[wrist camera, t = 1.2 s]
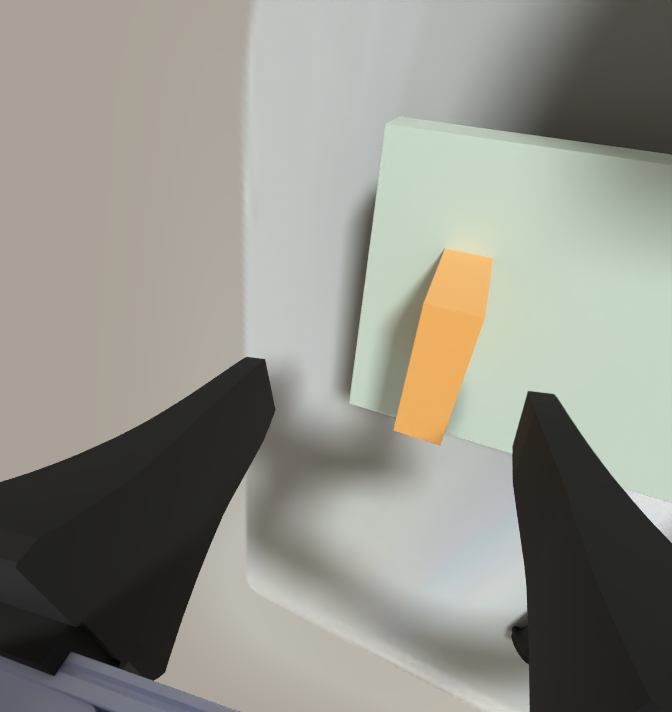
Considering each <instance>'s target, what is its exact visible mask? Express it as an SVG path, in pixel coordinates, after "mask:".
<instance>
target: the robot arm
mask: <svg viewBox="0 0 672 712" xmlns="http://www.w3.org/2000/svg"><path fill="white" fill-rule="evenodd" d="M274 412H275V406H274V401H273V396H272V391H271V386H270V381H269V376H268V371H267V367H266V362H265V359H259V358H251V357H246V358H244V359H242V360H241V361H239V362H238V363H236V364H234V365H233V366H232V367H230V368H229V369H227V370H226V371H224V372H223V373H221V374H220V375H219V376H217V377H215V378H214V379H213V380H211V381H210V382H208V383H207V384H205V385H204V386H202V387H201V388H199V389H198V390H196V391H195V392H193V393H192V394H190V395H189V396H187V397H186V398H184V399H183V400H181V401H179V402H178V403H176V404H175V405H173V406H171V407H170V408H168V409H166V410H165V411H164V412H162V413H160V414H158V415H157V416H155V417H153V418H152V419H150V420H148V421H146V422H144V423H143V424H141V425H139V426H137V427H135V428H133V429H131V430H129V431H127V432H125V433H124V434H122V435H120V436H118V437H116V438H114V439H111V440H109V441H107V442H105V443H102V444H100V445H98V446H96V447H94V448H92V449H89V450H87V451H85V452H82V453H80V454H78V455H75V456H73V457H71V458H68V459H65V460H63V461H60V462H58V463H55V464H53V465H50V466H47V467H44V468H42V469H39V470H36V471H33V472H30V473H28V474H24V475H22V476H19V477H15V478H12V479H9V480H6V481H3V482H0V712H239V711H236V710H234V709H231V708H228V707H225V706H222V705H220V704H217V703H214V702H211V701H208V700H206V699H203V698H200V697H197V696H194V695H191V694H188V693H186V692H183V691H180V690H177V689H175V688H172V687H169V686H166V685H163V684H160V683H158V682H155V681H154V680H155V679H157V678H159V677H160V676H161V675H163V673H165V671H166V668H167V664H168V661H169V658H170V655H171V652H172V648H173V645H174V643H175V640H176V636H177V633H178V630H179V627H180V624H181V621H182V618H183V615H184V613H185V610H186V607H187V604H188V601H189V599H190V596H191V593H192V590H193V588H194V585H195V582H196V580H197V577H198V575H199V572H200V570H201V567H202V565H203V562H204V559H205V557H206V554H207V552H208V549H209V547H210V544H211V542H212V539H213V537H214V535H215V533H216V530H217V528H218V526H219V523H220V521H221V519H222V516H223V514H224V512H225V510H226V508H227V506H228V504H229V502H230V501H231V499H232V497H233V495H234V493H235V492H236V489H237V488H238V486H239V484H240V483H241V481H242V479H243V477H244V475H245V474H246V472H247V470H248V468H249V466H250V465H251V463H252V461H253V459H254V457H255V455H256V454H257V452H258V450H259V448H260V446H261V444H262V442H263V440H264V438H265V436H266V433H267V431H268V428H269V426H270V423H271V420H272V418H273V415H274ZM512 461H513V487H514V495H515V502H516V509H517V517H518V524H519V531H520V538H521V545H522V552H523V559H524V566H525V576H526V587H527V611H528V641H529V687H530V712H672V543H671V542H670V541H669V540H668V539H667V538H666V537H665V536H664V535H663V534H662V533H661V531H660V530H659V529H658V528H657V527H656V526H655V525H654V524H653V523H652V522H651V521H650V520H649V519H648V518H647V516H646V515H645V514H644V513H643V512H642V511H641V510H640V509H639V507H638V506H637V505H636V504H635V503H634V502H633V501H632V499H631V498H630V497H629V496H628V495H627V493H626V492H625V491H624V490H623V488H622V487H621V486H620V485H619V484H618V482H617V481H616V480H615V479H614V477H613V476H612V475H611V474H610V472H609V471H608V470H607V468H606V467H605V466H604V464H603V463H602V462H601V460H600V459H599V458H598V456H597V455H596V454H595V452H594V451H593V450H592V448H591V447H590V445H589V444H588V443H587V441H586V440H585V438H584V437H583V436H582V434H581V433H580V431H579V430H578V428H577V427H576V425H575V424H574V422H573V421H572V419H571V418H570V416H569V415H568V413H567V412H566V410H565V408H564V407H563V405H562V404H561V402H560V401H559V399H558V398H557V396H556V395H555V394H550V393H542V392H534V391H528V392H527V396H526V399H525V403H524V407H523V410H522V414H521V417H520V421H519V424H518V428H517V432H516V435H515V439H514V442H513V446H512Z"/></svg>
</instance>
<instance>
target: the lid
mask: <svg viewBox="0 0 672 712" xmlns="http://www.w3.org/2000/svg"><path fill="white" fill-rule="evenodd" d="M528 391H534V392H542V393H550V394H555V395H556V396H557V398H558V399H559V401H560V402H561V404H562V405H563V407H564V408H565V410H566V412H567V413H568V415H569V416H570V418H571V419H572V421H573V422H574V424H575V425H576V427H577V428H578V430H579V431H580V433H581V434H582V436H583V437H584V438H585V440H586V441H587V443H588V444H589V445H590V447H591V448H592V450H593V451H594V452H595V454H596V455H597V456H598V458H599V459H600V460H601V462H602V463H603V464H604V466H605V467H606V468H607V470H608V471H609V472H610V474H611V475H612V476H613V477H614V479H615V480H616V481H617V482H618V484H619V485H620V486H621V487H622V488H624V489H628V490H631V491H634V492H637V493H641V494H644V495H647V496H650V497H654V498H657V499H660V500H663V501H666V502H670V503H672V154H665V153H658V152H650V151H643V150H636V149H629V148H622V147H615V146H607V145H600V144H593V143H586V142H579V141H571V140H564V139H557V138H550V137H543V136H536V135H528V134H521V133H514V132H507V131H500V130H493V129H485V128H478V127H471V126H464V125H457V124H449V123H442V122H435V121H428V120H421V119H414V118H406V117H397V118H395V119H394V120H392V121H390V122H388V123H386V125H385V133H384V140H383V148H382V156H381V163H380V171H379V178H378V186H377V194H376V201H375V209H374V217H373V224H372V232H371V240H370V247H369V255H368V263H367V270H366V278H365V285H364V293H363V301H362V308H361V316H360V324H359V331H358V339H357V347H356V354H355V362H354V370H353V377H352V385H351V392H350V400H349V404H353V405H356V406H359V407H362V408H366V409H369V410H372V411H375V412H378V413H382V414H385V415H388V416H391V417H395V418H396V422H395V426H394V430H393V431H397V432H400V433H403V434H406V435H409V436H412V437H416V438H419V439H422V440H425V441H428V442H431V443H434V444H438V445H441V442H442V439H443V436H444V433H446V434H450V435H453V436H456V437H459V438H463V439H466V440H469V441H472V442H476V443H479V444H482V445H485V446H488V447H492V448H495V449H498V450H501V451H505V452H508V453H511V454H512V446H513V442H514V439H515V435H516V432H517V428H518V424H519V421H520V417H521V414H522V410H523V407H524V403H525V399H526V396H527V392H528Z"/></svg>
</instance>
